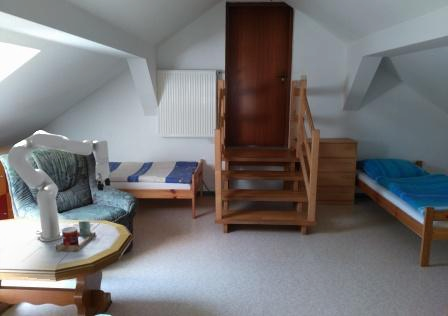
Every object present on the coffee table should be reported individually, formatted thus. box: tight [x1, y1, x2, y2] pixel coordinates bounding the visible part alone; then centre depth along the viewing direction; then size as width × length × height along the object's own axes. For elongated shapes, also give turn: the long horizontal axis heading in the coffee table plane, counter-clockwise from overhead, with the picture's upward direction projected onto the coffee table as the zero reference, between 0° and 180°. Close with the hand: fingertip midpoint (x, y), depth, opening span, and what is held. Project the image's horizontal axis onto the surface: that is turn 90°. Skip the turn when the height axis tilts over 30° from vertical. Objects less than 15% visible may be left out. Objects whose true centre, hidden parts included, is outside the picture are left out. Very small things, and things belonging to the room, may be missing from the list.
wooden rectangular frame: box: [54, 219, 97, 253], centre depth 204 cm, size 12×23×9 cm, turn 174°
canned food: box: [61, 226, 80, 246], centre depth 198 cm, size 8×8×11 cm
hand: (104, 187), depth 215 cm, fingers open, 9 cm apart
